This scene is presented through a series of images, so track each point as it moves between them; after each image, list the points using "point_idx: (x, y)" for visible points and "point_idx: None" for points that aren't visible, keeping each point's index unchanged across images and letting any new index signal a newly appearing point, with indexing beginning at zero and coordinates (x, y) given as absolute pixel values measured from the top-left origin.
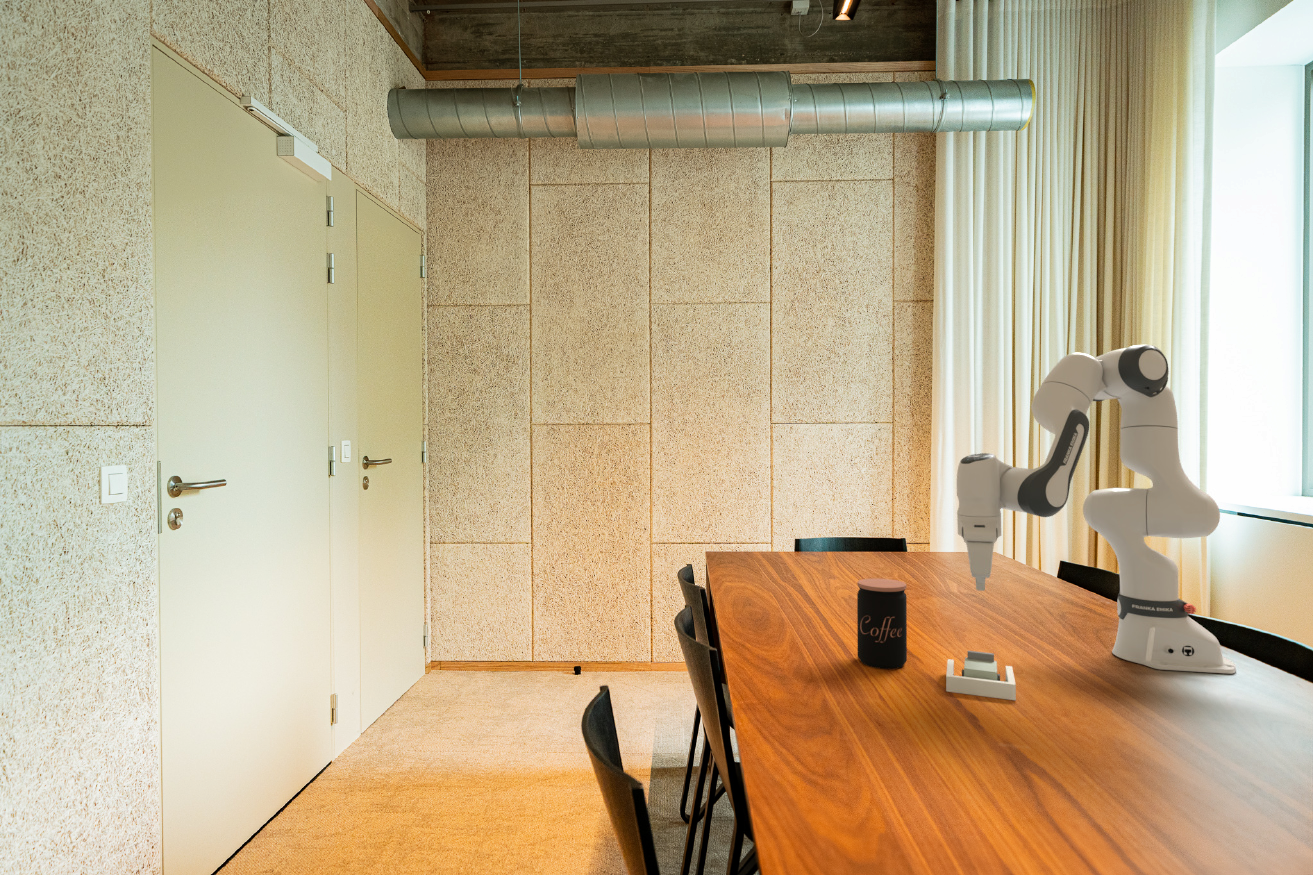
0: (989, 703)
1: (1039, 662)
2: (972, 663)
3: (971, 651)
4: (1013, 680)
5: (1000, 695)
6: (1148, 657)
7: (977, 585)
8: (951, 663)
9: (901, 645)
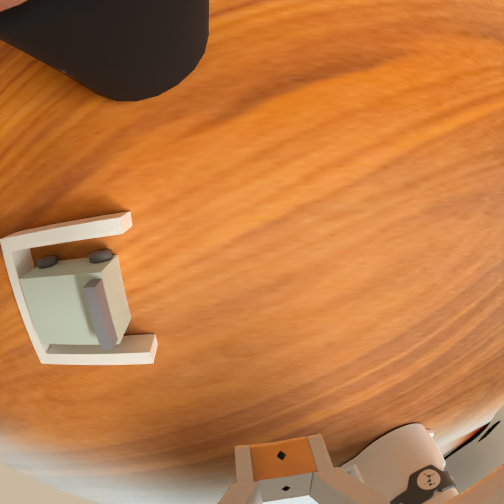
0: (13, 308)
1: (325, 371)
2: (62, 294)
3: (91, 297)
4: (60, 362)
5: None
6: (354, 468)
7: (236, 470)
8: (85, 233)
9: (86, 85)
